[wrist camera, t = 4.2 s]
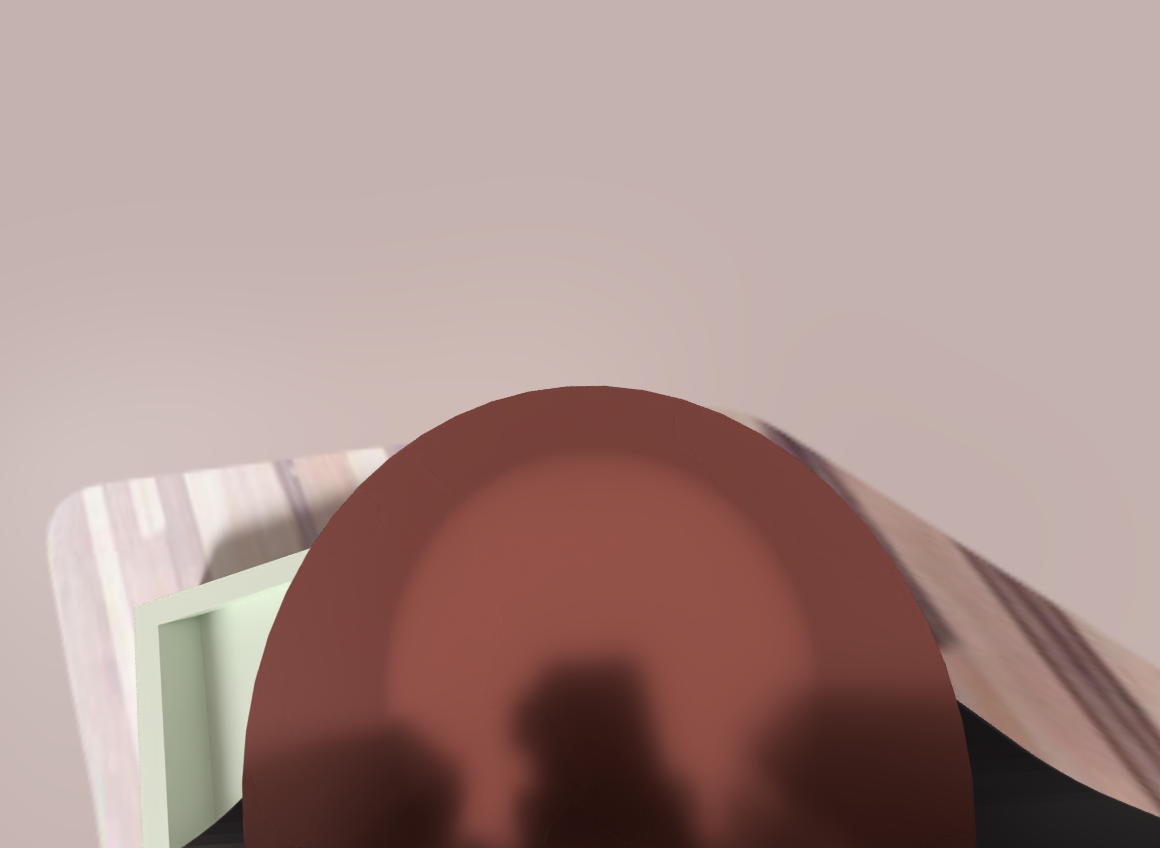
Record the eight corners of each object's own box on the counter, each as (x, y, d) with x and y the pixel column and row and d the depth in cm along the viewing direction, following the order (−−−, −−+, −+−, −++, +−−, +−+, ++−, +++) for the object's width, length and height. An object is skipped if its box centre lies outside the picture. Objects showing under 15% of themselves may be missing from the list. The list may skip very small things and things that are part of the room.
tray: (477, 793, 16) (452, 841, 14) (215, 879, 16) (146, 941, 14) (419, 521, 19) (389, 521, 17) (194, 596, 19) (133, 607, 17)
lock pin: (693, 604, 15) (1164, 1093, 2) (570, 644, 15) (287, 1373, 2) (648, 480, 16) (769, 307, 3) (534, 518, 16) (215, 493, 3)
